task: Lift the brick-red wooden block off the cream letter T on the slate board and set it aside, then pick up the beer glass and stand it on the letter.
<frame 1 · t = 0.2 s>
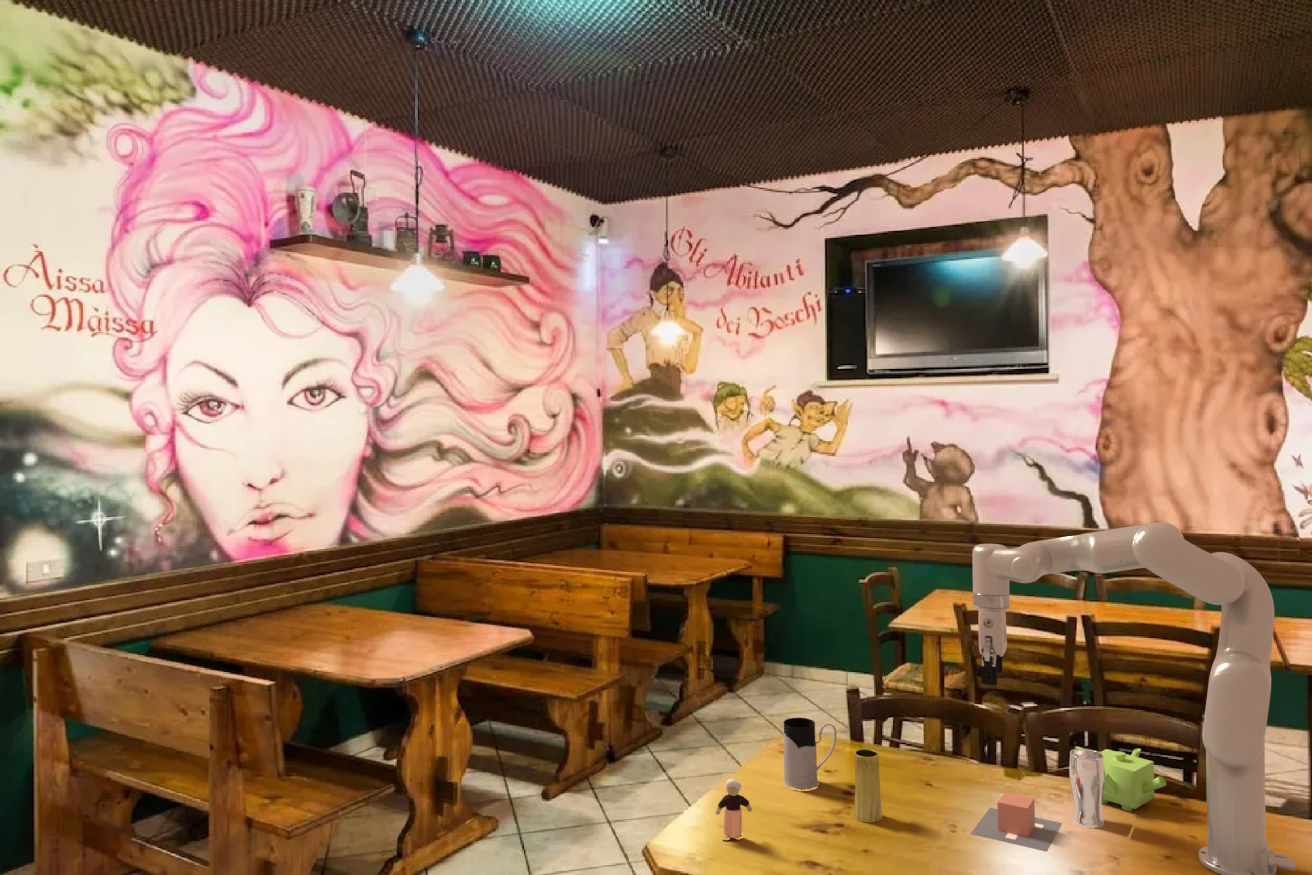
hand: (992, 678, 199), 30 cm above the table, tool pointing down, fingers open, 9 cm apart
kettle: (1120, 801, 205), on the table
grey and black mug: (811, 783, 220), on the table
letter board: (1016, 830, 192), on the table
grandmother figurine: (734, 838, 192), on the table
beer glass: (1088, 824, 194), on the table
vase: (868, 817, 200), on the table
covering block: (1016, 828, 192), resting on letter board
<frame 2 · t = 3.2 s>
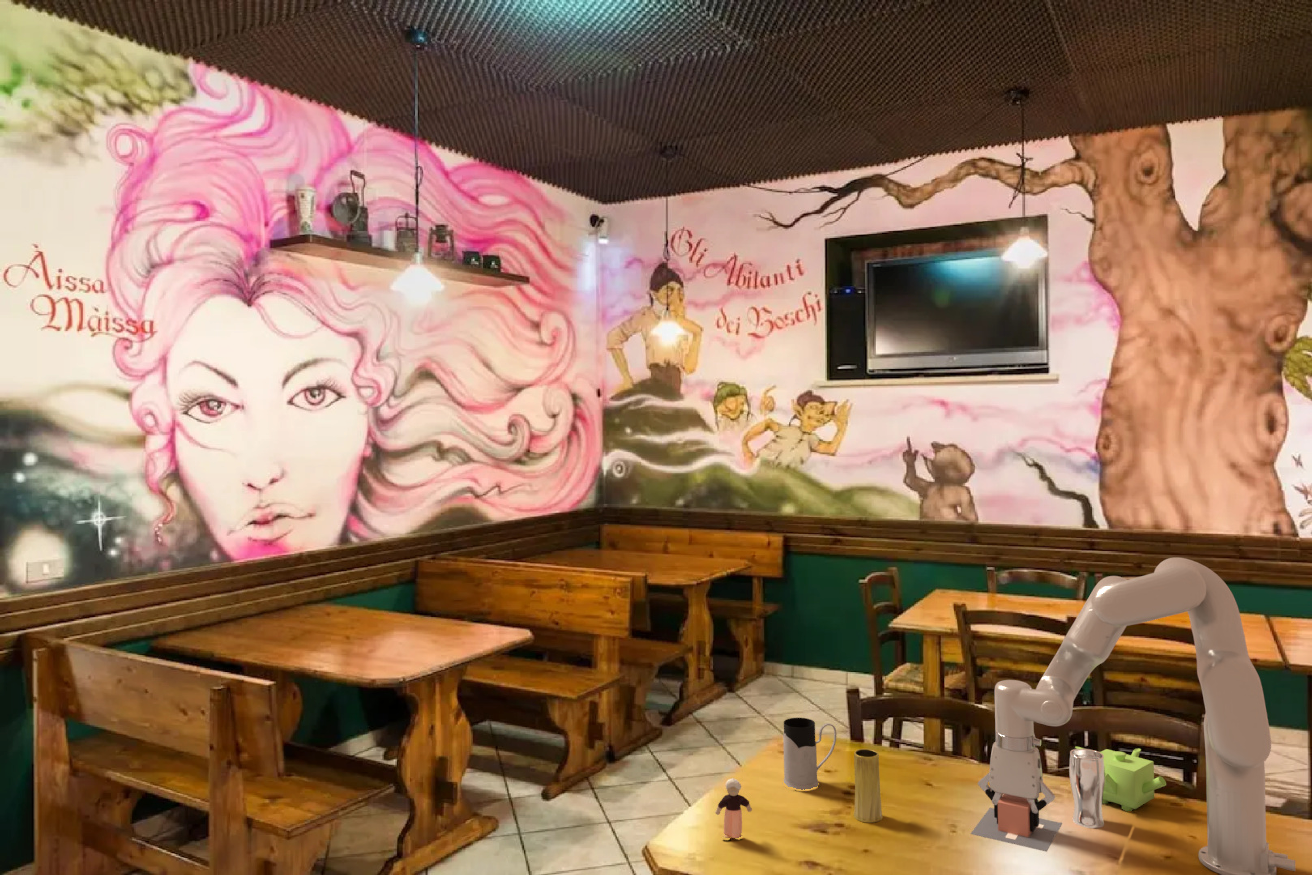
hand: (1016, 824, 192), 1 cm above the table, tool pointing down, fingers closed on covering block, 6 cm apart
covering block: (1016, 828, 192), resting on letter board, touching gripper
everything else where it was.
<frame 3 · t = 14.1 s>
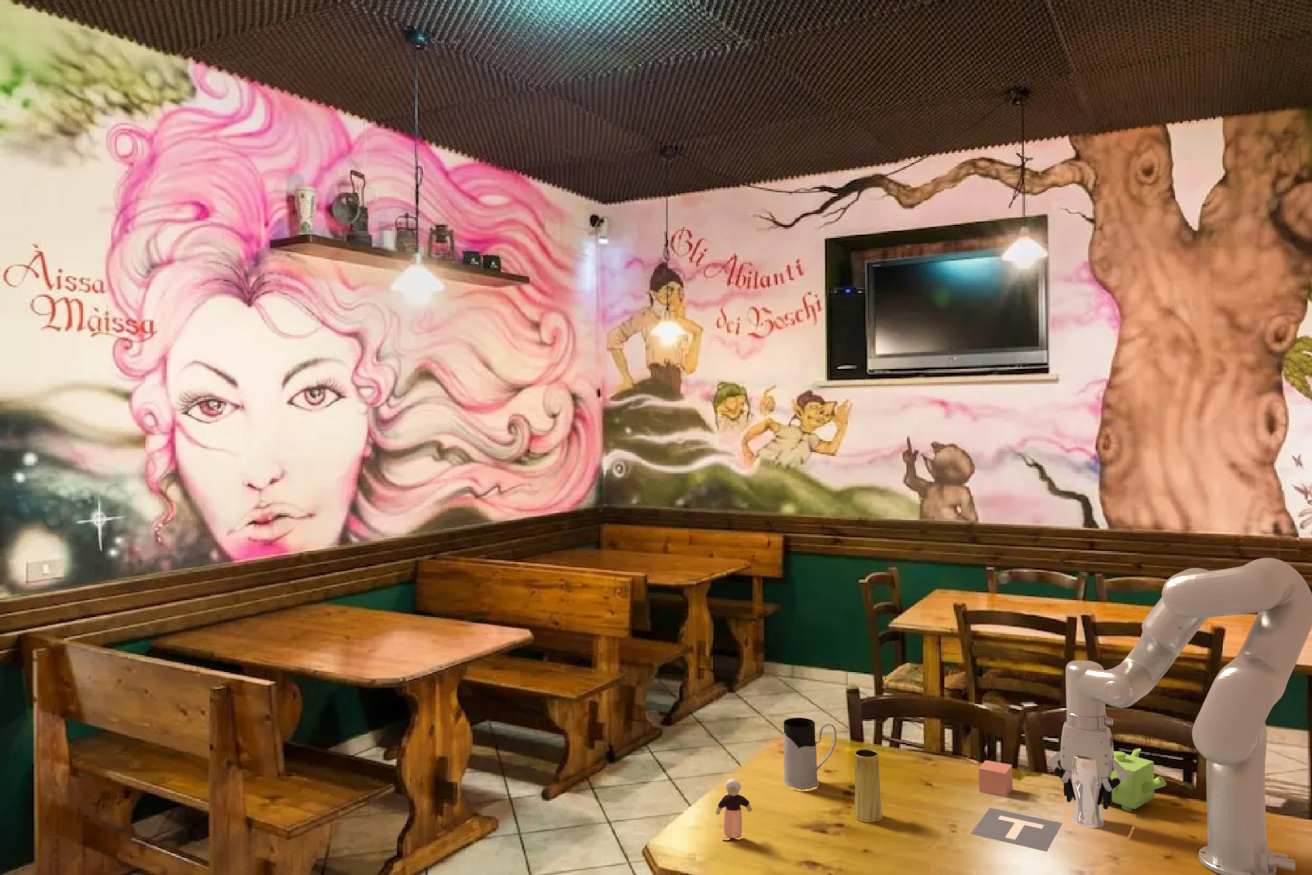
hand: (1087, 802, 194), 4 cm above the table, tool pointing down, fingers closed on beer glass, 6 cm apart
beer glass: (1088, 824, 194), on the table, touching gripper
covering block: (996, 792, 212), on the table
everything else where it was.
when the fingers open (6 cm above the table, at t = 20.8 s): beer glass drops 1 cm, resting on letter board.
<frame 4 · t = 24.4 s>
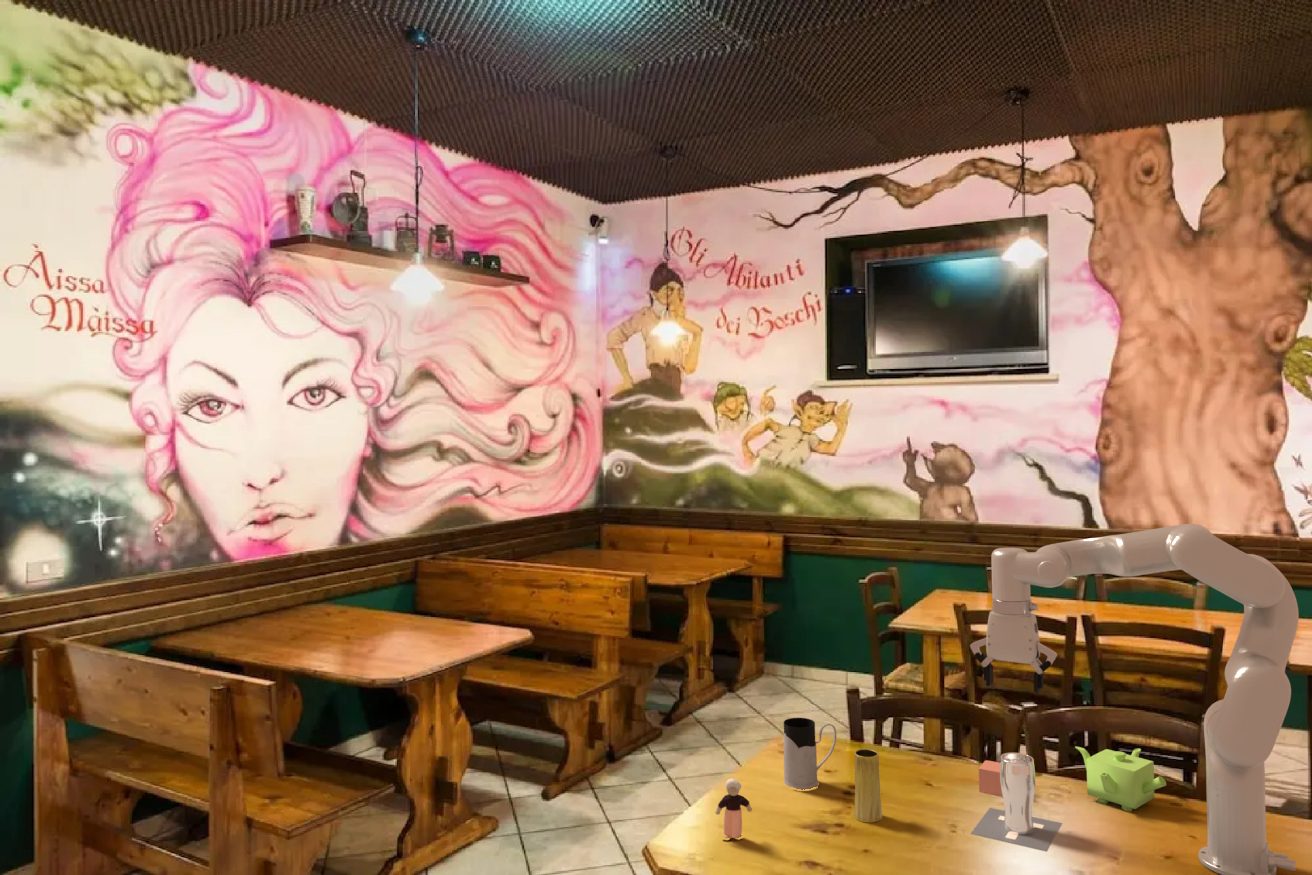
hand: (1013, 687, 191), 30 cm above the table, tool pointing down, fingers open, 9 cm apart
beer glass: (1018, 829, 192), resting on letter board
everything else where it was.
at the end: beer glass 0.4 cm off-centre on the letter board, point 0.2 cm above the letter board's base; beer glass tilted 0°; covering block touching table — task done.
